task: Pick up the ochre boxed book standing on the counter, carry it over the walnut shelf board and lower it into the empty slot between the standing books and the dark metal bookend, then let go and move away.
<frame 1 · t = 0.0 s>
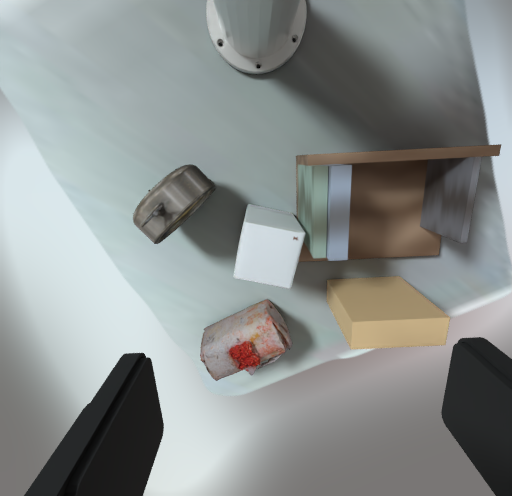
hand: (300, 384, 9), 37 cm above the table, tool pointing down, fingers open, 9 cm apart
book: (362, 288, 48), on the table
supplement box: (265, 230, 45), on the table
food item: (246, 324, 51), on the table
shelf: (368, 206, 44), on the table
alarm clock: (185, 195, 44), on the table
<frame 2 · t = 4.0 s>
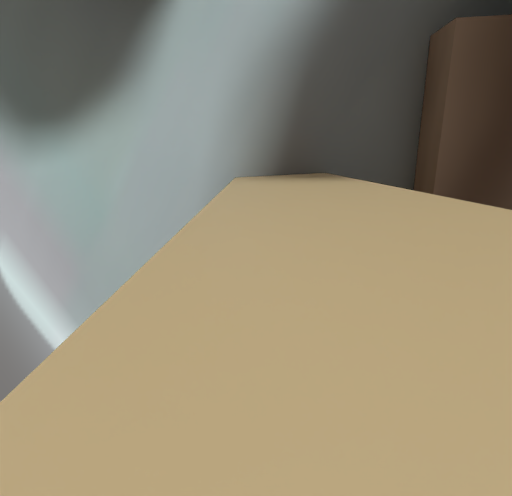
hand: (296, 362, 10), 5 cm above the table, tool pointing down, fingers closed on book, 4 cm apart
book: (283, 297, 15), on the table, touching gripper
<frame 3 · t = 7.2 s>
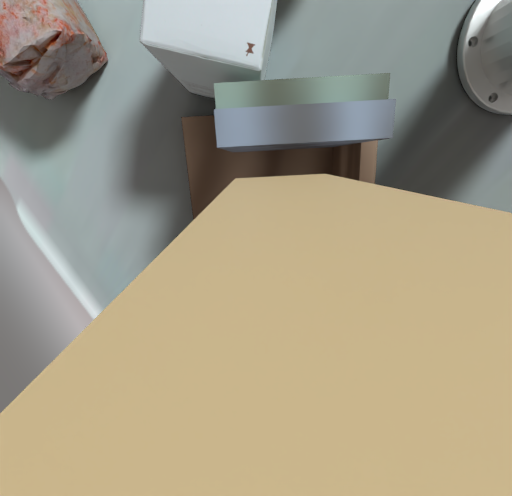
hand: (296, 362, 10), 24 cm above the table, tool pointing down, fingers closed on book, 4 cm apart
book: (283, 297, 14), point 19 cm above the table, touching gripper
supplement box: (230, 61, 28), on the table
food item: (48, 18, 27), on the table
shelf: (267, 220, 32), on the table
when the fingers open (8 cm above the table, at t = 10.7 s): book drops 1 cm, resting on shelf.
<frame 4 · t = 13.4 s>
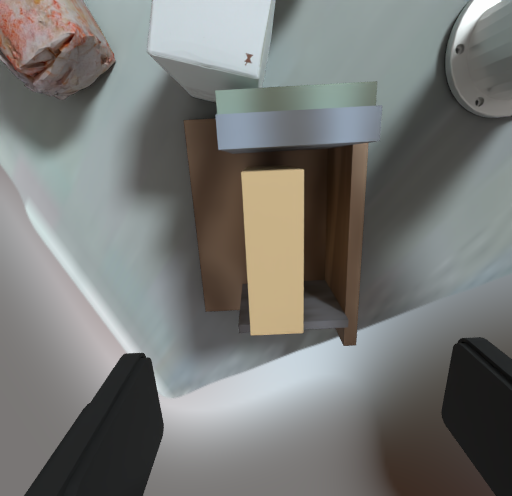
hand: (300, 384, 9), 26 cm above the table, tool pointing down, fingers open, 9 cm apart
book: (266, 221, 32), point 1 cm above the table, touching shelf
supplement box: (229, 66, 29), on the table
food item: (58, 22, 28), on the table
shelf: (265, 219, 34), on the table
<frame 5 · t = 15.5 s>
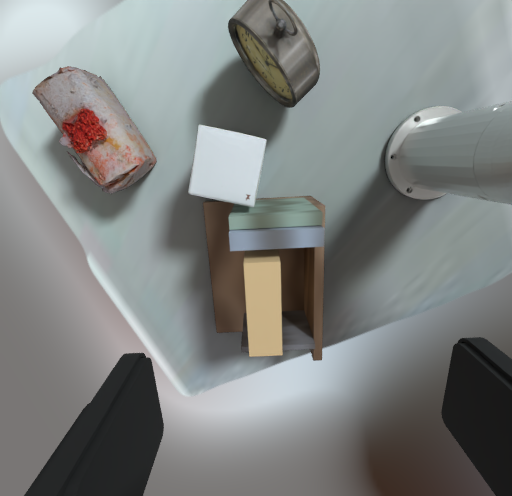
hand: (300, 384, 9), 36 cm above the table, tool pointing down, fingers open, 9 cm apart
book: (261, 269, 45), point 1 cm above the table, touching shelf
supplement box: (235, 165, 42), on the table
food item: (117, 136, 41), on the table
shelf: (260, 266, 47), on the table
alarm clock: (273, 70, 38), on the table
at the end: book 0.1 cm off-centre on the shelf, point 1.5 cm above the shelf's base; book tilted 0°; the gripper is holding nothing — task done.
